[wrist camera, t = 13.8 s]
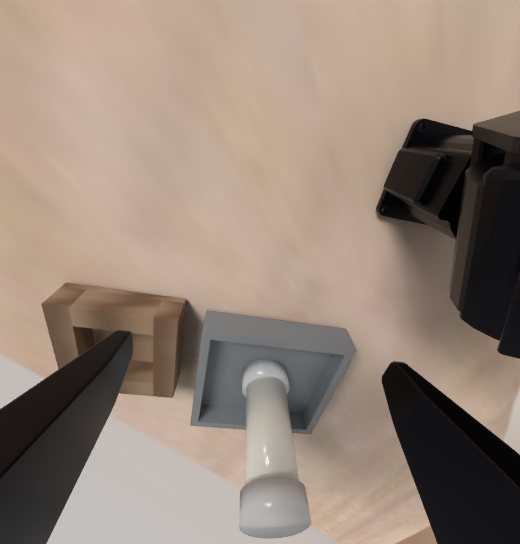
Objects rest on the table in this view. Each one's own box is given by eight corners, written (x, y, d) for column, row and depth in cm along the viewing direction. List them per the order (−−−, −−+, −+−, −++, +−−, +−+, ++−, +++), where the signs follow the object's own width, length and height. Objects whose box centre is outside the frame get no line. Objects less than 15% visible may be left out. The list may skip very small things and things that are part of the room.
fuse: (282, 355, 26) (306, 506, 16) (290, 384, 29) (314, 532, 18) (237, 363, 26) (231, 517, 16) (248, 391, 29) (248, 541, 18)
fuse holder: (185, 299, 23) (177, 321, 21) (179, 372, 28) (172, 397, 25) (66, 282, 22) (41, 304, 19) (81, 362, 27) (63, 388, 24)
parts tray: (346, 329, 26) (356, 350, 23) (306, 411, 33) (310, 434, 30) (206, 310, 24) (202, 331, 21) (194, 401, 31) (190, 425, 28)
